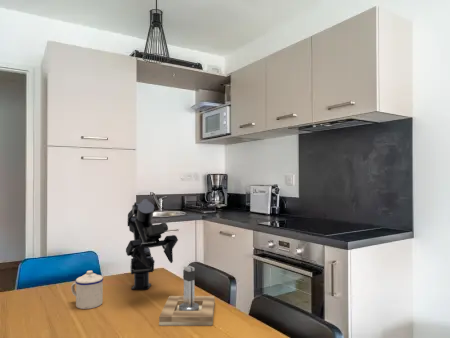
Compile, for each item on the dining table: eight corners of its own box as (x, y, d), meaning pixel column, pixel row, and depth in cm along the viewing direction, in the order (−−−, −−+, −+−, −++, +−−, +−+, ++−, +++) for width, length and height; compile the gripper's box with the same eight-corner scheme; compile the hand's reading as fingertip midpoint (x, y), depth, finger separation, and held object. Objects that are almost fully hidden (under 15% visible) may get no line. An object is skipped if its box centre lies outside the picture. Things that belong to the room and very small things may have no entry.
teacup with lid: (108, 301, 123) (108, 268, 123) (91, 311, 114) (91, 275, 114) (80, 297, 126) (80, 266, 126) (62, 307, 117) (62, 272, 118)
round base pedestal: (175, 309, 112) (175, 266, 113) (191, 305, 116) (191, 263, 117) (186, 316, 107) (186, 271, 108) (202, 310, 111) (202, 267, 112)
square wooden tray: (169, 303, 121) (169, 295, 121) (214, 303, 121) (214, 296, 121) (159, 325, 103) (159, 317, 103) (212, 325, 103) (212, 317, 103)
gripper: (129, 217, 120) (143, 255, 111) (175, 213, 131) (191, 247, 123) (120, 237, 125) (133, 274, 117) (165, 231, 137) (179, 265, 129)
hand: (160, 264), depth 121 cm, fingers open, 9 cm apart
